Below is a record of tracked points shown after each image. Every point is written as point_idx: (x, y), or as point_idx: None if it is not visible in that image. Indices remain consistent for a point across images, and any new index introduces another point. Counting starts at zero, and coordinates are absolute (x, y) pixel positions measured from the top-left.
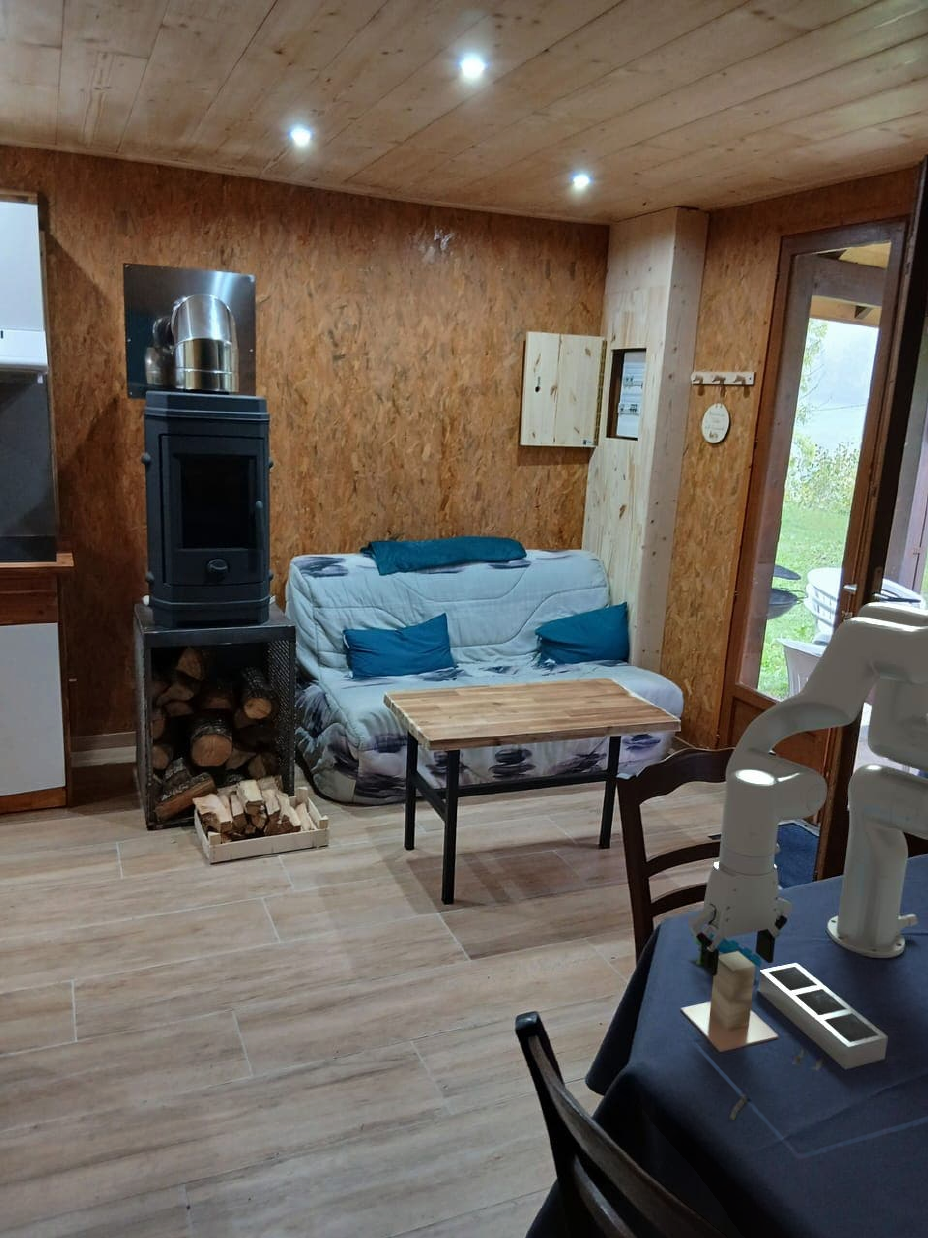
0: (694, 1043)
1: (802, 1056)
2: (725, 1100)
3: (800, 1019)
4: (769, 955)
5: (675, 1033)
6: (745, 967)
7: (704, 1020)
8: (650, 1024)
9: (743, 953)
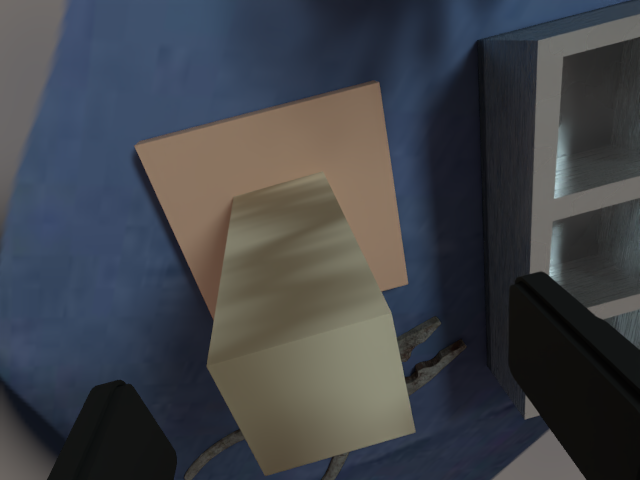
0: (159, 283)
1: (425, 340)
2: (190, 439)
3: (503, 258)
4: (541, 411)
5: (105, 242)
6: (351, 447)
7: (208, 218)
8: (16, 197)
9: None
